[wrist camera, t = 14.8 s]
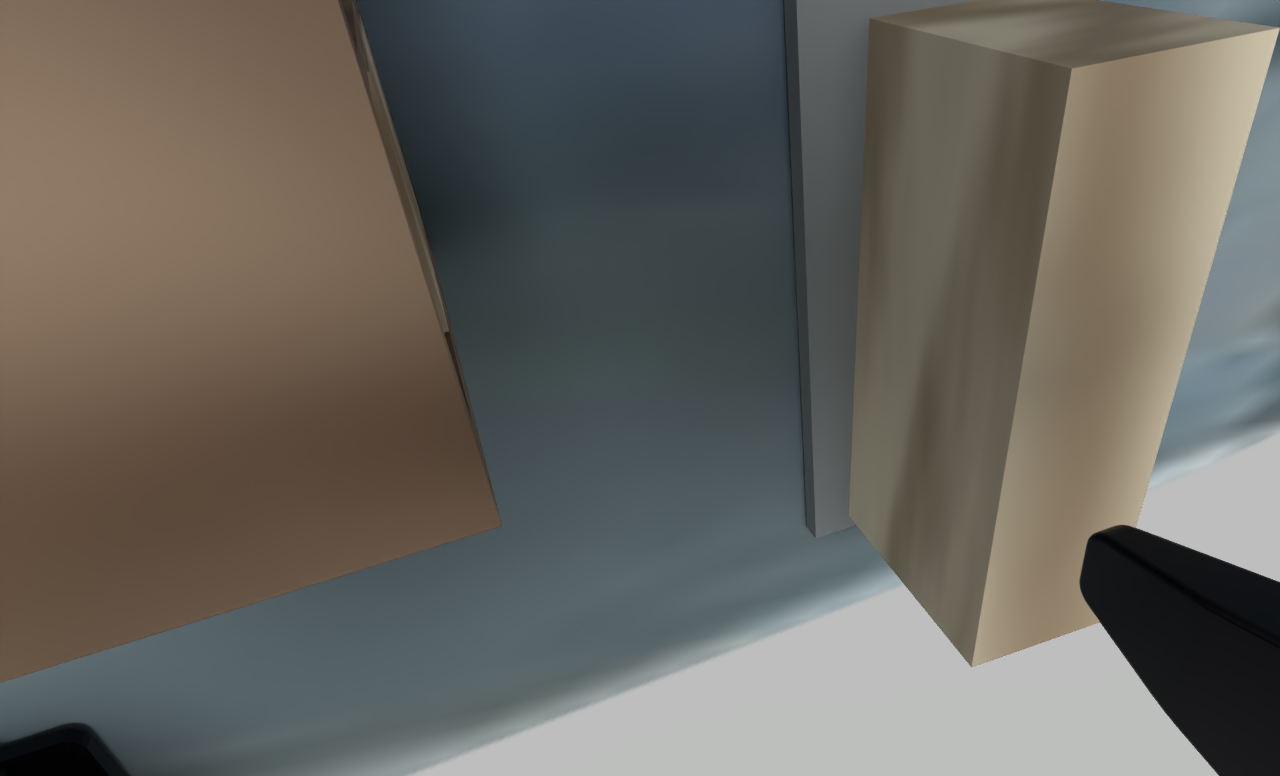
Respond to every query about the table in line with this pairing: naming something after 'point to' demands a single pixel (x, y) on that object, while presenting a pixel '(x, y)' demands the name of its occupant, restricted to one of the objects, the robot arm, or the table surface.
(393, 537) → the brown storage crate
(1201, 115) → the block
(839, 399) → the pad
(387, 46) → the table surface
